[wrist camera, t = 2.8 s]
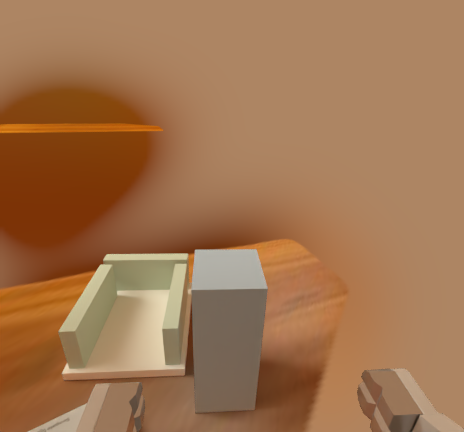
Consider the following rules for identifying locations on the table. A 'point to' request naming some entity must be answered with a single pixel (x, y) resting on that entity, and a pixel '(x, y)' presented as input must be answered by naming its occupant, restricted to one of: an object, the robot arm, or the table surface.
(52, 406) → the table surface
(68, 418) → the hard drive
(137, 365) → the cradle
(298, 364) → the table surface
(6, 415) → the table surface
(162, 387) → the table surface
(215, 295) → the block
